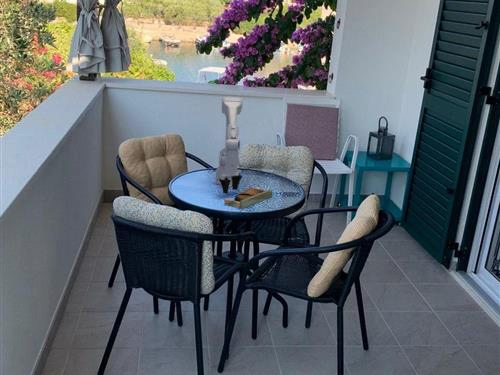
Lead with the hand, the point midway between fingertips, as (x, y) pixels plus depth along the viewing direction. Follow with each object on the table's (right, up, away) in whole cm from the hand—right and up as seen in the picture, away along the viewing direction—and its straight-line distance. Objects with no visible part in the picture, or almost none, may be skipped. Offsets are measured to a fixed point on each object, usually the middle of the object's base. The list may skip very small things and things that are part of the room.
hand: (230, 191), depth 272 cm
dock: (+9, -4, -5) cm, 11 cm away
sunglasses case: (+9, -4, -2) cm, 11 cm away
